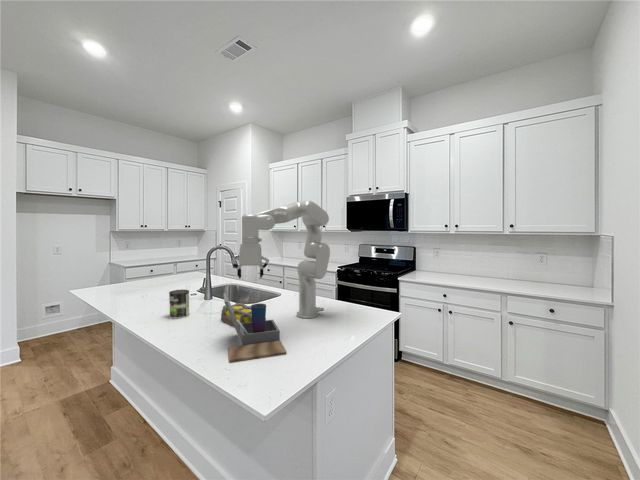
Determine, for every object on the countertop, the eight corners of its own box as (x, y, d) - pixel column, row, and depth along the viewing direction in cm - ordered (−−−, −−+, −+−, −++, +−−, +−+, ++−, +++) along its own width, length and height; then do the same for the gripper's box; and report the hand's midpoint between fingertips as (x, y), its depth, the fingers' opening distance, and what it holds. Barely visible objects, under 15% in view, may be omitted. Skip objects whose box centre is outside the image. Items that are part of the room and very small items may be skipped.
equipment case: (272, 329, 143) (272, 305, 142) (279, 341, 128) (279, 315, 127) (234, 334, 136) (234, 309, 136) (236, 347, 121) (236, 319, 121)
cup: (252, 334, 136) (252, 303, 135) (267, 334, 136) (266, 303, 135) (250, 340, 129) (249, 307, 128) (265, 340, 129) (265, 307, 129)
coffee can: (179, 319, 157) (178, 294, 156) (165, 317, 161) (164, 292, 160) (193, 314, 167) (193, 290, 166) (180, 312, 170) (180, 288, 170)
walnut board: (280, 342, 127) (280, 340, 127) (286, 354, 116) (286, 351, 115) (227, 349, 119) (227, 347, 119) (229, 362, 108) (229, 360, 108)
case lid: (225, 292, 134) (223, 293, 134) (227, 301, 119) (224, 302, 119) (238, 322, 137) (235, 324, 137) (241, 335, 122) (238, 336, 122)
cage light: (239, 300, 168) (271, 310, 148) (239, 313, 169) (271, 325, 149) (215, 305, 157) (247, 317, 138) (216, 319, 158) (247, 333, 138)
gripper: (269, 240, 139) (269, 275, 139) (232, 240, 136) (232, 276, 137) (268, 241, 131) (269, 278, 132) (229, 241, 129) (230, 279, 130)
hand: (250, 277), depth 135 cm, fingers open, 9 cm apart
